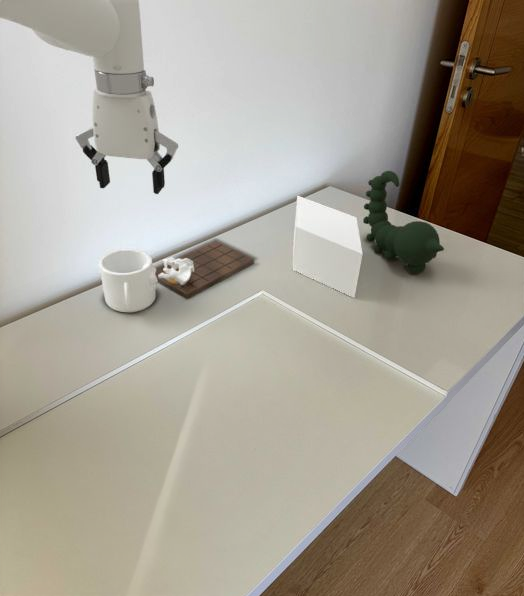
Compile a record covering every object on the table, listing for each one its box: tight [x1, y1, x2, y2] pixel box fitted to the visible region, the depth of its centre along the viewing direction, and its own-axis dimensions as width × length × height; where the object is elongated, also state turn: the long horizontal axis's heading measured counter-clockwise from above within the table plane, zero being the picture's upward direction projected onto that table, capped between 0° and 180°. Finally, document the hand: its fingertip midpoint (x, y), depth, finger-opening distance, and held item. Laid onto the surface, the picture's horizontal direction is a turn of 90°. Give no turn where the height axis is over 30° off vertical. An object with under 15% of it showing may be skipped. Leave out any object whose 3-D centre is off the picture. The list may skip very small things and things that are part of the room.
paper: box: [291, 195, 363, 299], centre depth 115 cm, size 14×29×10 cm, turn 23°
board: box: [155, 240, 255, 300], centre depth 114 cm, size 20×12×1 cm, turn 139°
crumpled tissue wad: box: [158, 256, 194, 285], centre depth 108 cm, size 8×4×7 cm
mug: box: [98, 248, 158, 313], centre depth 100 cm, size 12×10×9 cm
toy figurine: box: [362, 170, 445, 275], centre depth 116 cm, size 9×19×25 cm
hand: (131, 188), depth 93 cm, fingers open, 9 cm apart
